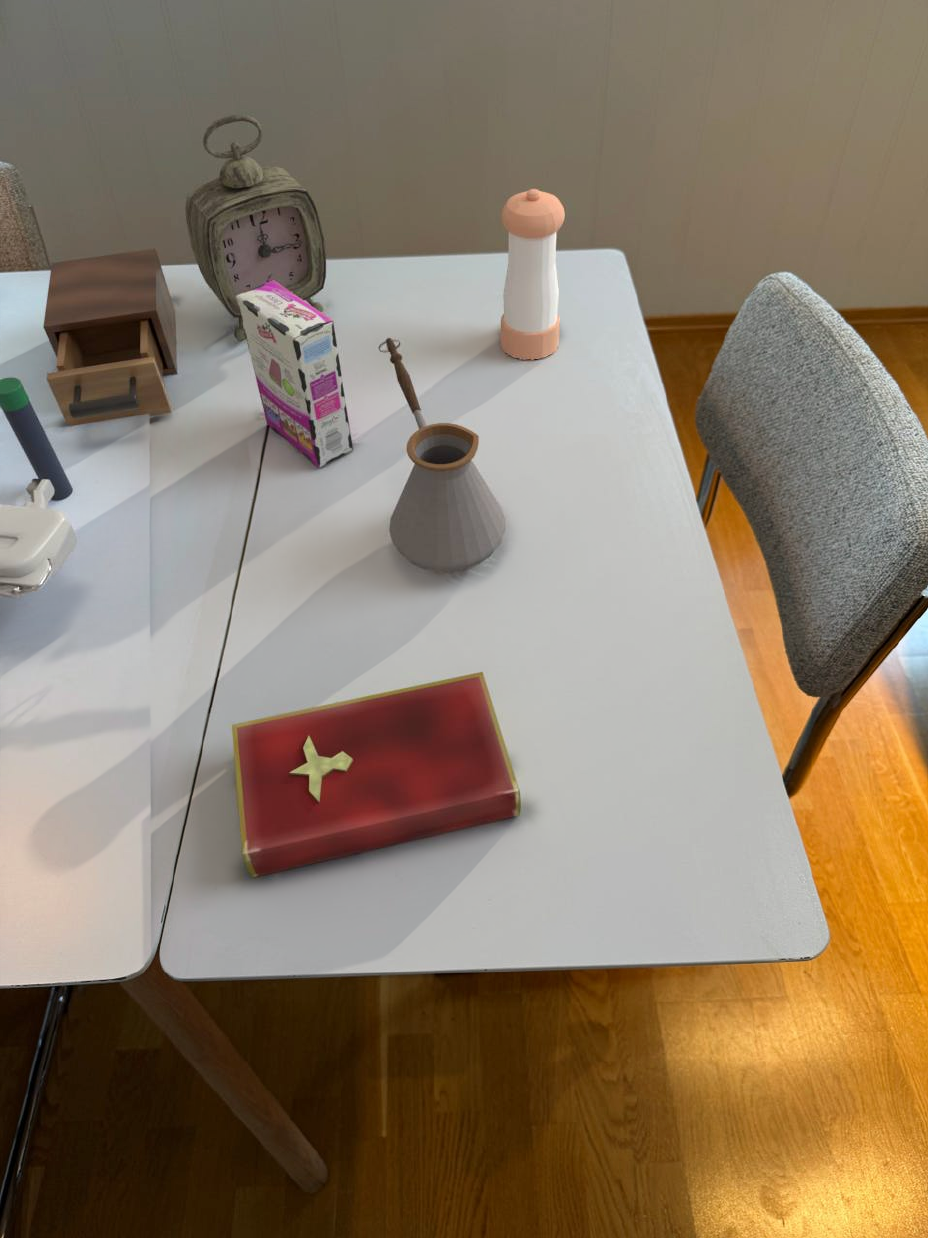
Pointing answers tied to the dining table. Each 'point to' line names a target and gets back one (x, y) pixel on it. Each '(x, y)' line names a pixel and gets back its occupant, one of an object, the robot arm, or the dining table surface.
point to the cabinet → (112, 297)
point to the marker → (32, 436)
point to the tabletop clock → (254, 228)
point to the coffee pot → (443, 494)
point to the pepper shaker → (531, 275)
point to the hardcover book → (370, 773)
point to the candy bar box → (297, 371)
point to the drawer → (109, 373)
